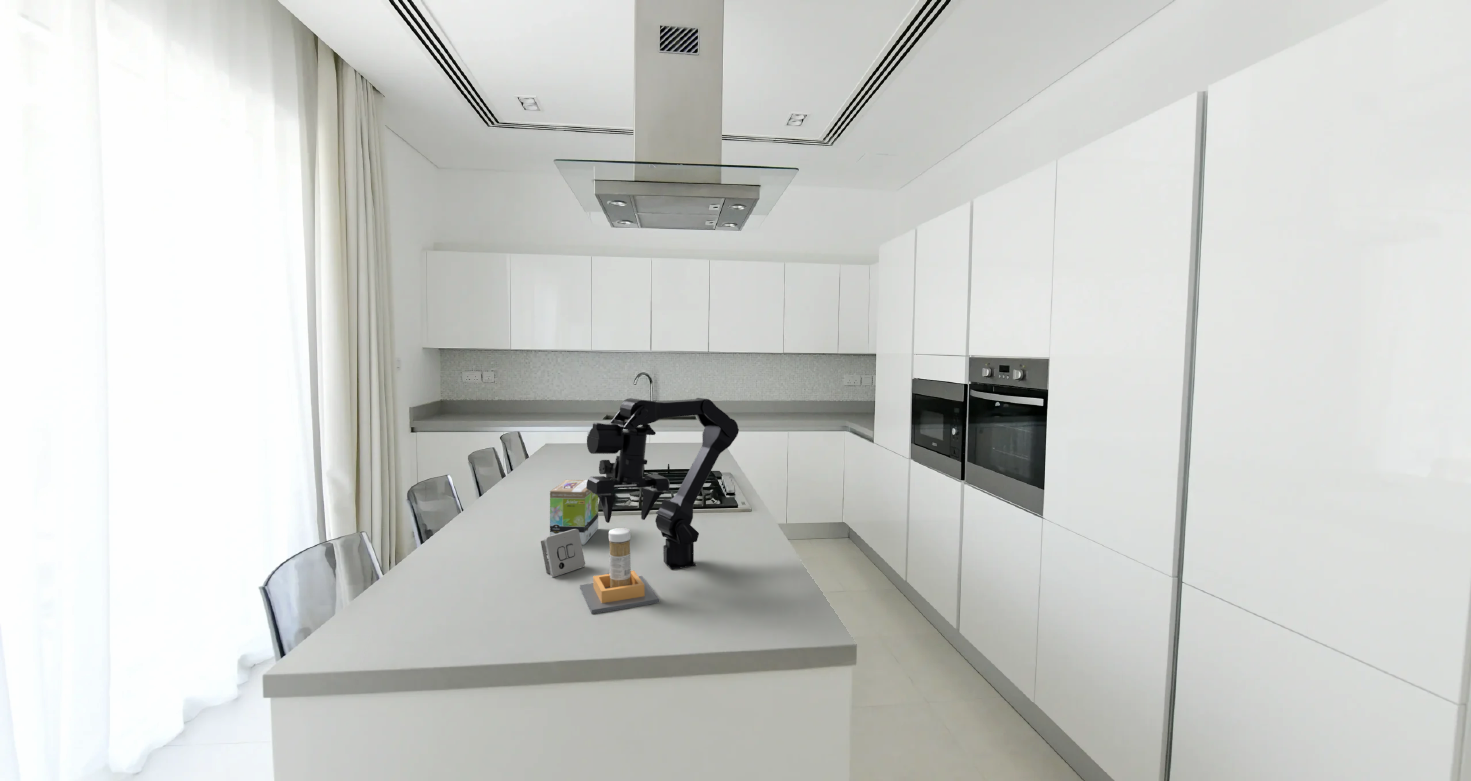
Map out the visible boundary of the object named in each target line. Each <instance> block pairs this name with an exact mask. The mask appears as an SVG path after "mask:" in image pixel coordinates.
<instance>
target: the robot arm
mask: <svg viewBox="0 0 1471 781" xmlns="http://www.w3.org/2000/svg"><path fill="white" fill-rule="evenodd" d="M687 416H689V417H690V416H697V419H698V421H699V423H700V424H701V425H702V426H703V427H704V429H703V431H702V442H701V443H702V444H701V448H700V449H699V451H698V453H697V454H696V457H695V458H694V460H693V462H692V464H691V466H690V467H689V470H688V472H687V474H686V476H685V478H684V479H683V481H682V483H681V485H680V487H679V489H678V491H677V492H676V494H675V495H674V497H671V499H666V498H664V499H663V500H662V503H661V504H660V507H659V508H658V510H657V511H655V514H656V518H655V525H656V527H657V529H658V530H659V531H660V533H661V536H662V537H664V538H665V544H664V545H663V546H662V548H663V549H662V550H663V553H662V554H663V562H664V564H665V565H666V566H667V567H668V568H669V569H670V570H675V569H676V570H677V569H684V568H690V567H695V566H697V563H696V561H695V558H694V556H695V555H694V552H695V551H694V544H695V543H696V542H697V541H698V538H699V535H700V534H699V532H698V531H697V529H696V528H695V527H693V526H692V525H691V524H692V521H693V518H694V505H695V502H696V501H697V499H698V496H699V495H700V493H701V491H702V489H703V487H704V486H705V483H706V481H707V480H708V477H709V475H710V473H711V471H712V470H713V468H714V466H715V464H716V463H717V460H718V459H719V456H720V455H721V453H723V452H725V450H727V449H729V447H731V446H732V444H733V442H734V441H735V440H736V439H737V437H738V435H739V430H740V429H739V426H738V423H737V421H736V420H735V419H733V418H731V417H730V416H729V415H728V414H727V413H725V412H724V411H723V410H722V409H720V408H719V407H718V406H716V404H715V403H714V402H713V401H712V400H711V399H709V398H703V397H696V398H693V399H692V398H691V399H678V400H677V399H675V400H663V401H654V400H646V399H639V398H632V397H631V398H626V399H624V401H623V402H622V403H621V405H620V407H619V410H618V411H617V413H616V414H615V415H614V416H613V418H612V419H611V421H609V422H608V423H601V422H593V423H592V428H591V429H590V430H589V432H588V436H586V448H587V450H588V452H589V453H590V454H592V455H598V454H599V455H600V454H601V455H605V454H606V455H613V454H617V453H619V455H616V457H615V460H614V462H611V460H610V459H601V460H599V466H598V472H599V474H600V476H599V475H598V476H590V477H589V478H588V479H587V480H588V481H587V487H586V489H588V490H590V491H592V493H594V494H596V495H597V496H598V500H599V502H600V505H601V507H602V511H603V516H604V520H605V522H606V523H610V521H611V519H612V513H613V508H614V502H615V494H613V493H612V492H614V491H615V489H629V488H632V489H633V488H634V489H635V488H641V490H642V504H641V512H640V514H641V515H640V516H641V517H640V519H641V520H642V521H645V520H646V519H647V517H648V515H649V514H650V512H651V510H652V508H653V507H654V505H655V504H656V503H657V501H658V500H659V498H660V497H661V496H662V495H664V494H665V491H666V492H667V491H670V484H671V483H670V480H669V479H668V478H667V477H664V476H663V475H659V474H645V475H644V468H645V465H648V459H646V458H645V456H646V445H647V439H648V438H647V436H655V435H657V434H656V431H655V430H654V429H653V428H652V427H651V425H650V424H653V423H656V422H657V421H660V420H661V419H667V418H675V417H676V418H678V417H679V418H680V417H687ZM601 475H603V476H601ZM604 475H605V476H604Z"/></svg>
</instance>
